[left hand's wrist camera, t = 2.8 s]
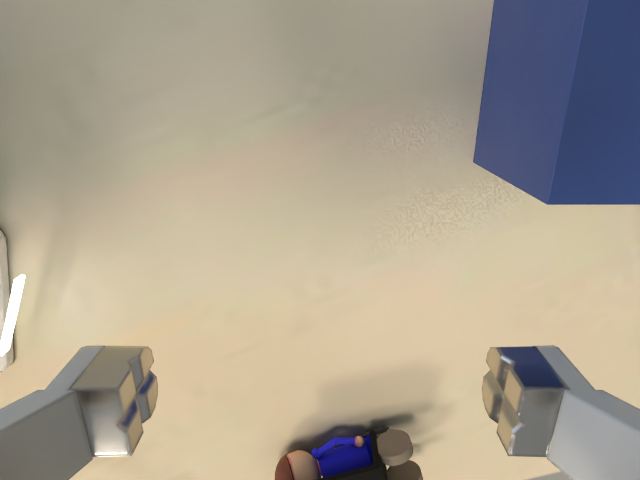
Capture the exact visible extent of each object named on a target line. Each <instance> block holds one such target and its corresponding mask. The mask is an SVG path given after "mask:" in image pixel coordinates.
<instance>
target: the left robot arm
mask: <svg viewBox="0 0 640 480" xmlns="http://www.w3.org/2000/svg"><path fill="white" fill-rule="evenodd" d="M24 281H25V275H20V276H19V277H17V278H16V279H14V282H13V287H12V292H11V297H10V292H9V276H8V261H7V245H6V238H5V236H4V234H3V233H2V231H1V230H0V373H1V372H2V371H4V370H5V369H7V368H8V367H9V366H11V365H12V364H13V359H14V354H13V338H12V335H13V331H14V326H15V322H16V317H17V313H18V308H19V303H20V299H21V294H22V290H23V285H24ZM153 362H154V359H153V354H152V350H151V349H150V348H149V347H145V346H85V347H82V348H81V349H80V350H79V351H78V352H77V353H76V354H75V356H74V357H73V358H72V359H71V360H70V361H69V362H68V364H67V365H66V366H65V367H64V368H63V369H62V371H61V372H60V373H59V374H58V375H57V376H56V377H55V379H54V380H53V381H52V382H51V383H50V384H49V385H48V387H47V388H46V389H45V390H37V391H35V392H33V393H31V394H29V395H27V396H25V397H23V398H21V399H19V400H17V401H15V402H13V403H11V404H9V405H7V406H6V407H4V408H2V409H0V480H69V479H70V478H71V477H72V476H74V475H75V474H76V473H77V472H78V471H79V470H81V469H82V468H83V467H84V466H85V465H87V464H88V463H89V462H90V461H91V460H92V459H93V457H111V456H132V454H133V452H134V450H135V448H136V446H137V444H138V442H139V440H140V438H141V436H142V434H143V427H142V423H144V422H145V421H146V420H148V419H149V418H151V416H152V413H153V411H154V409H155V406H156V401H157V397H158V383H157V377H156V376H155V375H154V374H153V373H152V372H151V371H150V368H151V366H152V364H153ZM486 362H487V364H488V366H489V368H490V371H489V372H488V373H487V374H486V375H485V376H484V377H483V384H482V395H483V402H484V406H485V409H486V411H487V413H488V416H489V418H491V419H492V420H494V421H495V422H496V423H498V427H497V434H498V436H499V438H500V440H501V442H502V444H503V446H504V448H505V450H506V452H507V454H508V456H529V457H547V459H548V460H549V461H550V462H551V463H553V464H554V465H555V466H556V467H557V468H558V469H560V470H561V471H562V472H563V473H564V474H565V475H567V476H568V477H569V478H570V479H571V480H640V409H638V408H636V407H634V406H632V405H631V404H629V403H627V402H625V401H623V400H621V399H619V398H617V397H615V396H613V395H611V394H609V393H607V392H605V391H603V390H595V389H594V388H593V387H592V385H591V384H590V383H589V382H588V381H587V380H586V379H585V377H584V376H583V375H582V374H581V373H580V372H579V371H578V369H577V368H576V367H575V366H574V365H573V364H572V362H571V361H570V360H569V359H568V358H567V357H566V356H565V354H564V353H563V352H562V351H561V350H560V349H559V348H558V347H556V346H554V345H549V346H532V347H490V349H489V351H488V353H487V359H486Z"/></svg>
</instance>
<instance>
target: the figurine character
mask: <svg viewBox="0 0 640 480" xmlns="http://www.w3.org/2000/svg"><path fill="white" fill-rule="evenodd" d="M389 428H390V427H385V426H383V427H380V428H377V429H375V430H372V431H369V432H366V433H364V434H363V435H362V436H361V437H360V436H357V437H356V438H355V437H334V438H332V439H331V440H330V441H328V442H327V443H326V444H324V445H323V446H322V447H320V448H314V449H313V450H312V455H311V454H309V453H308V452H305V451H302V450H294V451H291V452H289V453H287V454H286V455H284V456H283V457H282V458H281V460H280V461H279V463H278V465H277V467H276V471H275V480H423V477H422V473H421V470H420V467H419V466H418V464H416V463H415V462H413V461H410V460H409V459H410V457H411V456H412V454H413V447H412V443H411V439H410V437H409V435H408V434H407V433H406V432H404V431H401V430H390V431H387V430H388V429H389ZM385 431H387V432H385ZM382 432H384V433H383V434H381V435H380V436H379V437H378V438H377V436H376V435H377V434H380V433H382ZM362 437H363V438H362ZM364 438H366V442H365V439H364ZM335 445H342V446H339V447H336V448H333V447H334V446H335ZM331 448H333V449H331ZM316 460H318V462H319V463H317V461H316ZM385 464H386V465H390V467H389V468H388V470H387V469H386V465H385ZM321 476H323V478H321Z"/></svg>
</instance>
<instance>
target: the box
mask: <svg viewBox="0 0 640 480" xmlns="http://www.w3.org/2000/svg"><path fill="white" fill-rule="evenodd" d="M473 162H474V163H475V164H477V165H479V166H481V167H482V168H484V169H486V170H488V171H489V172H491V173H493V174H495V175H496V176H498V177H500V178H502V179H503V180H505V181H507V182H509V183H510V184H512V185H514V186H516V187H517V188H519V189H521V190H523V191H524V192H526V193H528V194H530V195H531V196H533V197H535V198H537V199H538V200H540V201H542V202H544V203H545V204H547V205H556V204H640V0H494V7H493V15H492V22H491V30H490V38H489V45H488V53H487V61H486V69H485V76H484V84H483V92H482V99H481V107H480V115H479V122H478V130H477V138H476V145H475V153H474V161H473Z"/></svg>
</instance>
